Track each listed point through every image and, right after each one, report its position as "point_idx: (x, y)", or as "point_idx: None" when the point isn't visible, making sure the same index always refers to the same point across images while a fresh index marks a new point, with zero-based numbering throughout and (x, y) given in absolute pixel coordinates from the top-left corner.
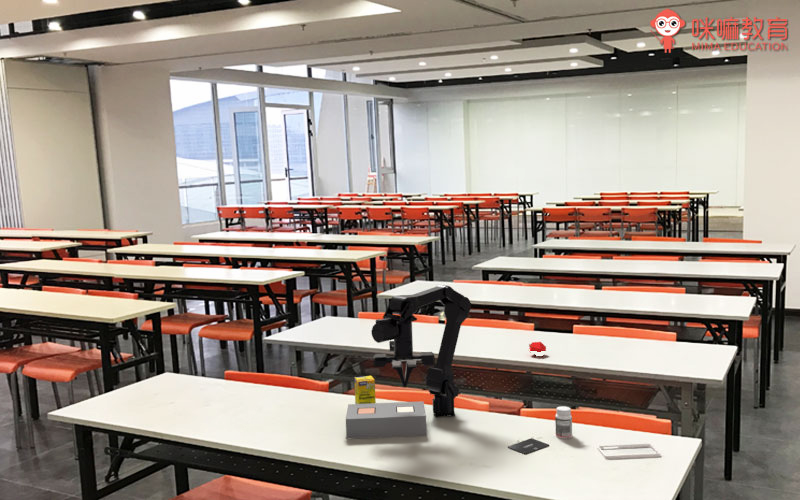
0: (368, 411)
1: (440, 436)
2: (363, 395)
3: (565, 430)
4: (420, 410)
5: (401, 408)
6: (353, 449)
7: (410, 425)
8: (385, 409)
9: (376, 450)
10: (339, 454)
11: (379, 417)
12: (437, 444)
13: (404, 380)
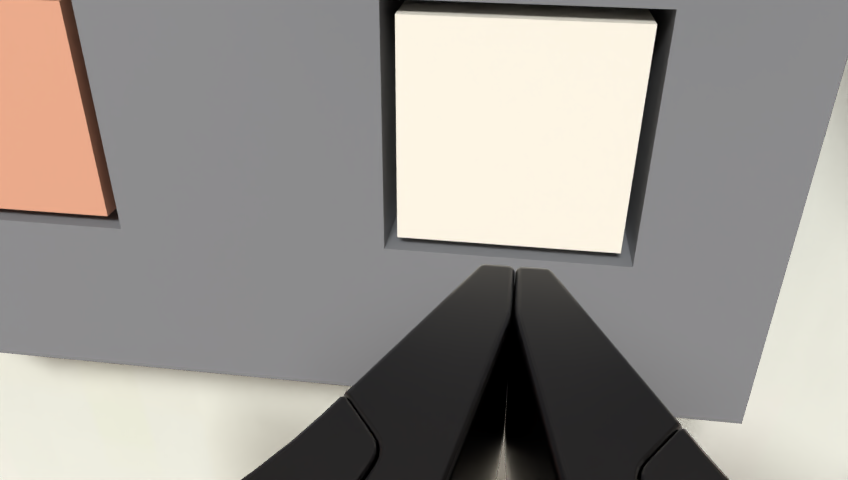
0: (15, 140)
1: (821, 331)
2: None
3: None
4: (726, 236)
5: (460, 94)
6: (106, 426)
7: None
8: (228, 106)
9: None
10: (38, 474)
11: (196, 364)
12: (734, 469)
13: (505, 358)
